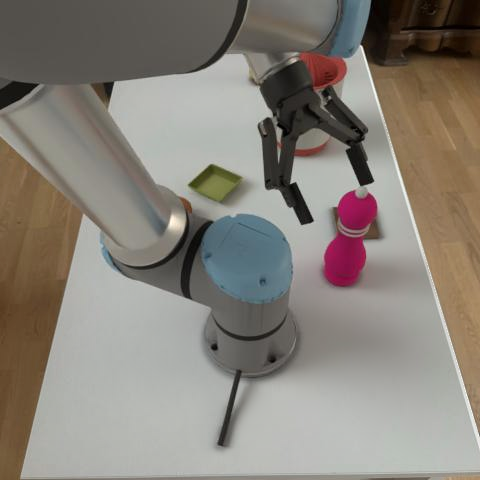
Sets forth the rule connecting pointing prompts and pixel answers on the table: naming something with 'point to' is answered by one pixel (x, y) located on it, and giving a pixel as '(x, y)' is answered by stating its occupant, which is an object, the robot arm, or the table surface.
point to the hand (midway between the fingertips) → (338, 203)
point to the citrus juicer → (322, 75)
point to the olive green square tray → (215, 182)
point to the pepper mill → (350, 237)
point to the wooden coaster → (370, 234)
